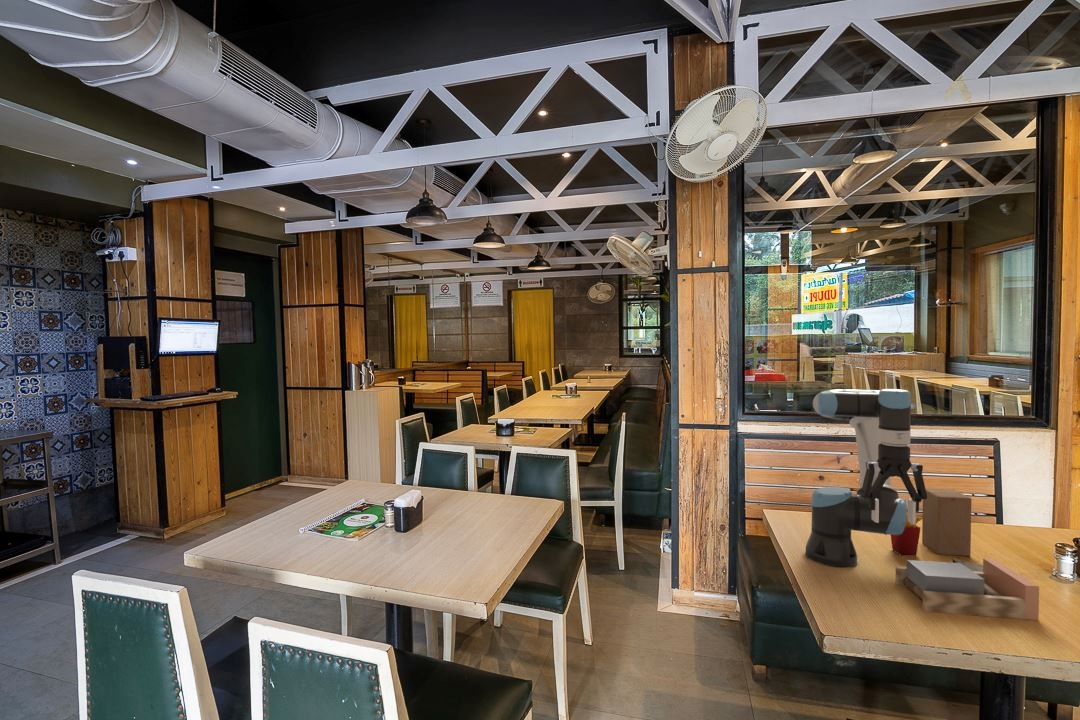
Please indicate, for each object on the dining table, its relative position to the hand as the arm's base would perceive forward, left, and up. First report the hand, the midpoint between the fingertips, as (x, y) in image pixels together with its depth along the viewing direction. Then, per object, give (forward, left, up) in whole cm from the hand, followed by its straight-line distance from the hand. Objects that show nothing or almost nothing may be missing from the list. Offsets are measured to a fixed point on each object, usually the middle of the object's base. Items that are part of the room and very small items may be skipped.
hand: (893, 521), depth 144 cm
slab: (+13, 0, -18) cm, 22 cm away
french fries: (+17, +33, -22) cm, 43 cm away
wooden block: (+33, +37, -22) cm, 54 cm away
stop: (+29, 0, -21) cm, 36 cm away
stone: (+32, +17, -22) cm, 42 cm away
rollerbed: (+16, 0, -21) cm, 27 cm away
